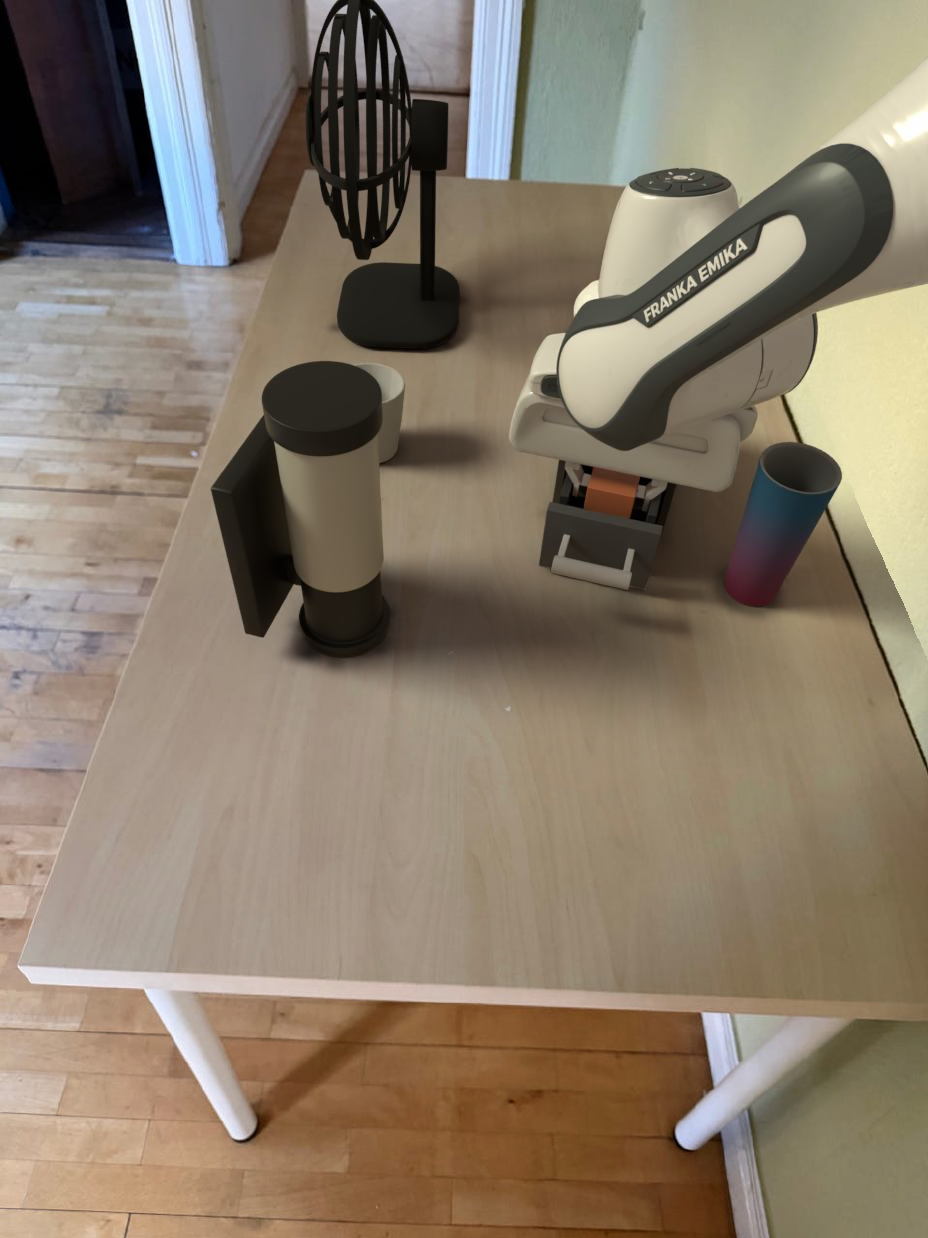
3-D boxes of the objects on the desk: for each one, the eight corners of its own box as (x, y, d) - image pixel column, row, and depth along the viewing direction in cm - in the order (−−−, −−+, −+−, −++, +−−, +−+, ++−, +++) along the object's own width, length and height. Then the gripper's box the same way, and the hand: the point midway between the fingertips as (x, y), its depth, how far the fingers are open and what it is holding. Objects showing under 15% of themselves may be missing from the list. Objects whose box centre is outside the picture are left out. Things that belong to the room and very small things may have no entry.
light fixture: (366, 683, 76) (347, 458, 57) (248, 654, 77) (193, 425, 59) (409, 586, 83) (405, 359, 65) (301, 561, 85) (267, 332, 66)
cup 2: (794, 580, 86) (852, 460, 74) (771, 624, 82) (828, 504, 70) (729, 552, 88) (775, 431, 77) (703, 594, 84) (748, 473, 73)
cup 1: (407, 470, 94) (406, 404, 88) (313, 472, 94) (305, 405, 87) (405, 427, 99) (404, 361, 93) (316, 428, 98) (309, 362, 92)
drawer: (638, 625, 80) (654, 570, 74) (527, 599, 82) (535, 543, 76) (663, 499, 91) (679, 443, 86) (566, 479, 93) (575, 422, 87)
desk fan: (337, 256, 124) (314, -46, 98) (460, 261, 125) (471, -39, 98) (313, 364, 107) (277, 31, 80) (457, 370, 107) (469, 40, 80)
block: (633, 502, 85) (642, 467, 82) (626, 532, 82) (635, 497, 79) (589, 493, 86) (596, 457, 83) (580, 522, 83) (587, 487, 80)
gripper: (766, 377, 73) (722, 501, 83) (528, 332, 76) (515, 458, 86) (762, 420, 69) (716, 545, 79) (511, 372, 72) (499, 498, 82)
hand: (609, 499), depth 83 cm, fingers closed on block, 4 cm apart
